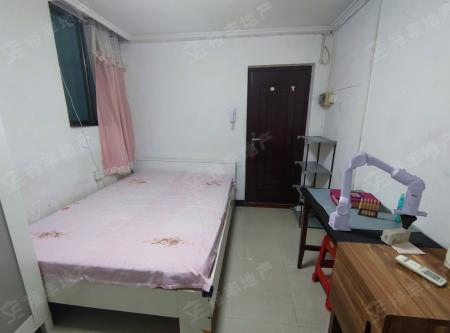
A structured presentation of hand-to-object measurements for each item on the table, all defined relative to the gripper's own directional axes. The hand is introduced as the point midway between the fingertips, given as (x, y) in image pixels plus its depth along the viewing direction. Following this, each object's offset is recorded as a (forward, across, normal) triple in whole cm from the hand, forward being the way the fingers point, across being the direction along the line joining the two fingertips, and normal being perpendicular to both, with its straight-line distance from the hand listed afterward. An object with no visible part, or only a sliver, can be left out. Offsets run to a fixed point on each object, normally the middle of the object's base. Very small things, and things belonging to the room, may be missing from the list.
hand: (404, 228), depth 106 cm
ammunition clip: (+10, 0, -32) cm, 34 cm away
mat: (+9, 0, 0) cm, 9 cm away
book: (+10, 0, -53) cm, 54 cm away
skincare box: (+6, +8, 0) cm, 10 cm away
